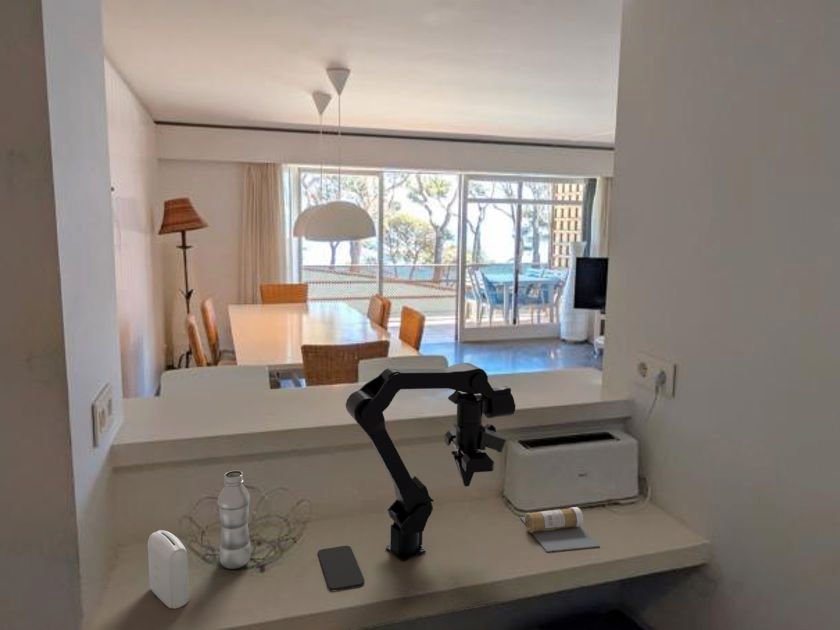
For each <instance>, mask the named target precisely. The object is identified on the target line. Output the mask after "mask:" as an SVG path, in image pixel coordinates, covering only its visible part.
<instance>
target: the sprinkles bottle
mask: <svg viewBox="0 0 840 630" xmlns="http://www.w3.org/2000/svg"><path fill="white" fill-rule="evenodd" d="M524 516H525V524H526V525H525V524H524V525H525V527H526V530H527V532H529V533H531V534H532V533H533V532H537V531H548V530H555V529H561V528H568V527H580V526H581V527H583V526H582V525H583V524H584V515H583V512H582V510H581V509H580V508H579V507H577V506H574V507H569V508H563V509H553V510H544V511H538V512H527V513H526V514H525V515H524Z"/></svg>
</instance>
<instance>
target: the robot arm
mask: <svg viewBox="0 0 840 630" xmlns="http://www.w3.org/2000/svg"><path fill="white" fill-rule="evenodd" d="M430 389H431V390H433V389H435V390H436V389H438V390H439V389H441V390H442V389H448V390H453V391H454V392H453V393H452V394H450V395H449V396H448V397H447V399H448V401H449V402H452V403H453V404H454V405H456V419H455V421H453V427H454V428H455V429H454V430H448V431H446V433H445V434H444V443H445V445H446V446H451V444H452V443H453V447H454V451H453V450H452V451H451V452H450V453H451V456H452V457H453V460H454V461H453V462H454V463H455V466H456V468H457V471H458V473H459V475H460V479H461V482H462V485H463V486H464V487H469V486H471V485H470V484H471V482H472V479H473V476H474V474H475V473H487V472H488V473H489V472H493V471H494V470H495V469H494V468H495V461H494V460H493V459H492V458H491V457H490V455H489V454H488V453H487V452H485V451H486V448H488V449H491V450H494V451H496V452H498V453H502V452H503V449H505V448H504V447H505V446H506V443H507V440H508V439H507V438H506V437H505V436H504V435H503V434H502V433H500V432H499V431H497V429H496V426H495V425H494V424H491V423H488V422H487V423H486V425H483V415H484V416H485V417H486V418H488V419H494V418H496V419H497V418H503V417H511V416H513V415H514V414H515V412H516V403H515V399H514V396H513V394H512V393H511V392H512V388H511V387H508V386H506V385H504V386H499V387H492V385H491V384H490V382H489V376H488V373H487V372H486V371H485V370H484V369H483V368H480V367H478V366H476V365H474V364H473V363H470V362H462V363H456V364H452V365H450V366H448V367H443V368H394V367H388V368H386V369H384V370H383V371H382V372H381V373H380V374H378V376H376V377H375V378H373V379H371V380H370V381H367V382H366V383H365V384H364V385H363V386H362V387H360V389H358V390H357V391H354V392H352V393H351V394H350V395H349V396H348V398H347V399H346V401H345V408H346V411H347V413H348V414H349V415H350V416H351V418H352V419H353V420H354V421H355V423H357V425H359V427H360V428H361V429H362V431H363V432H364V433H365V434H366V436H367V437H368V439H369V441H370V443H371V445H372V446H373V449H374V450H375V451H376V454H377V455H378V458H379V459H380V460H381V463H382V465H383V466H384V469H385V470H386V472H387V474H388V476H389V477H390V479H391V481H392V483H393V486H394V493H395V498H396V500H395V501H394V502H393V503H392V504H391V505H390V506H389V508H388V509H387V513H388V515H389V517H390V518H391V520H392V521H393V524H391V525H390V542H389V543H390V544H388V545H385V549H386V550H388V551H389V552H390V553H392V555H394V556H395V557H396V558H398V559H399V560H400V561H403V562H405V561H407V560H410V559H411V558H412V559H413V558H414V557H416V556H419V555H422V554H423V553H425V552H426V548H424V547H423V546H422V545H423V532H424V530H425V528H426V525H427V522H428V520H429V518H430V516H431V515H432V512H433V511H434V507H433V502H434V499H433V498H432V497H431V496H430V493H429V491H428V488H427V486H426V485H425V483H423V482H422V481H421V480H420V479H419V478H418V476H417V475H414V477H412V476H411V475H410V472H409V471H408V469H407V467H406V465H405V463H404V461H403V460H402V458H401V455H400V454H399V452H398V450H397V448H396V446H395V445H394V443H393V440H392V439H391V436H390V435H389V433H388V431H387V427H386V420H385V419H386V418H385V416H384V411H386V409H387V408H388V407H390V404H391V403H392V401H393V400H394V398H395V396H396V395H397V394H398V393H399V392H400V390H430ZM482 451H483V452H482Z"/></svg>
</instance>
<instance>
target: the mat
mask: <svg viewBox="0 0 840 630" xmlns="http://www.w3.org/2000/svg"><path fill="white" fill-rule="evenodd" d="M519 518H520V519H522V520H521V521H522V522H523V524H524V526H526V524H525V517H520V516H519ZM531 534H532V535H533V537H534V538H535V539H536V541H537V542H538V543H539V544H540V546H542V548H543V549H544V551H545V552H546V553H553V552H552V551H554V552H562V551H563V550H564V551H570V550H571V551H572V550H573V549H574V550H582V549H591V548H592V549H593V548H600V545H599V543H598V542H597V541H596V540H595V539H594V538H593V537H592V536H591V535H590V534H589V532H587V531H586V530H585V529H584V528H583V526H580V527H568V528H561V529H555V530H548V531H537V532H533V533H531Z"/></svg>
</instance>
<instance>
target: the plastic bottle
mask: <svg viewBox="0 0 840 630" xmlns="http://www.w3.org/2000/svg"><path fill="white" fill-rule="evenodd" d="M223 485H224V487H223V489H222V490H221V491H220V493H219V495H218V497H217V505H218V506H217V507H218V512H219V516H220V517H219V518H220V525H221V526H220V527H221V534H220V535H221V536H220V546H219V550H218V551H219V553H218V557H219V561H220V564H221V565H222V566H223V568H226V569H229V570H235V569H236V570H237V569H239V568H243V567H244V566H246V565H247V564H248V563H249V561H250V560H251V558H252V557H251V556H252V544H251V540H250V535H249V509H250V502H251V494H250V493H249V490H248V489H247V488H246V486H245V485H244V474H243V471H241V470H229V471H227V472H225V473H224V480H223Z"/></svg>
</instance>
